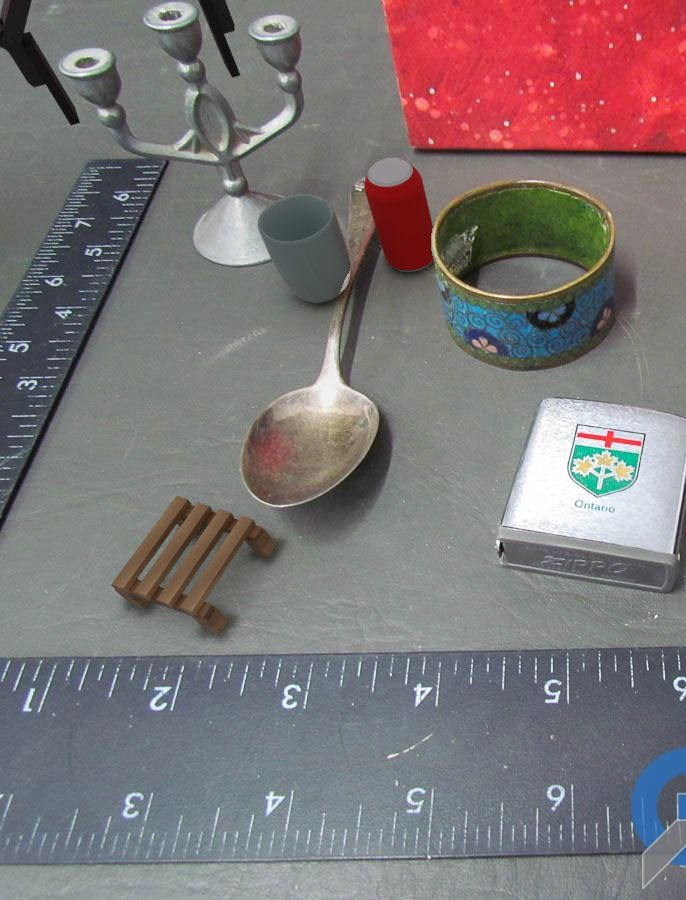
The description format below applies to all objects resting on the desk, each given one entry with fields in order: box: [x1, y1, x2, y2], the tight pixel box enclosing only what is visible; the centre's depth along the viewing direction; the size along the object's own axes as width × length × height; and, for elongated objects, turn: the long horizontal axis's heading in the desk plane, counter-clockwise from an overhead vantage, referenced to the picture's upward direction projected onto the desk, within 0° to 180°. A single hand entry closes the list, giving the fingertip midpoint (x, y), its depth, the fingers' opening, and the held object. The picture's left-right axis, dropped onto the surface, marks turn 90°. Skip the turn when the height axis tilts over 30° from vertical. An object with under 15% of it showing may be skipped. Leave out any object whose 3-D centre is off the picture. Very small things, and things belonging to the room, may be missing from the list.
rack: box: [110, 495, 277, 636], centre depth 71 cm, size 9×9×4 cm
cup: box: [257, 193, 352, 304], centre depth 89 cm, size 8×8×10 cm
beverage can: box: [363, 157, 434, 273], centre depth 91 cm, size 6×6×12 cm
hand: (155, 92), depth 71 cm, fingers open, 13 cm apart
